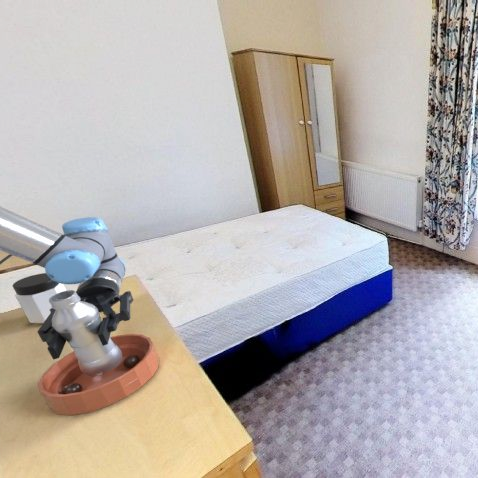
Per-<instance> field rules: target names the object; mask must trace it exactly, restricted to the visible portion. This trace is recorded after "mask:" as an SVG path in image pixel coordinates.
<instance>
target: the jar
mask: <svg viewBox="0 0 478 478" xmlns="http://www.w3.org/2000/svg"><path fill="white" fill-rule="evenodd" d="M12 288H13V290H14V291H15V293H16V294H15V295H14V297H15V299H16V300H17V302H18V304H19V306H20V307H21V309H22V311H23V312H24V314H25V316H26V318H27V320H28V321H29V323H31V324H43V323H44V322H45V320H46V319H47V317H48V316H49V315H50V313H51V312H50V309H51V308H52V307H51V304H50V302H49V298H50V297H52V296H53V295H55V294H57V293H60V292H63V291H67V289H66V287H65V284H61V283H58V282H55V281H53V280H51V278H49V277H48V275H47V274H46V272H43V273H37V274H33V275H29V276H25V277H23V278H21V279H18V280H16V281H15V282H14V283H13V284H12Z"/></svg>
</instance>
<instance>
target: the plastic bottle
mask: <svg viewBox="0 0 478 478" xmlns="http://www.w3.org/2000/svg"><path fill="white" fill-rule="evenodd" d="M80 299H81V298H80V297H79V296H78V295H77V293H76V291H75V290H74V289H73V290H72V289H69V290H66V291H63V292H60V293H57V294H55V295H53V296H52V297H50V298H49V302H50V304H51V307H52V308H53V309H55V310H56V311H55V313H54V315H53V318H52V326H53V327H54V329H55V330H56V331H57V332H58V333H59V334H60V335H61V336H62V337H63V338H65V339H66V343H68V345H69V346H70V348H71V349H72V350H73V351H74V353H75V355H76V357H77V359H78V364H79V367H80V370H81V371H82V372H83V373H85V374H86V375H88V376H100V375H103V374H106V373H108V372H110V371H112V370H113V369H115V368H116V367H117V366H118V365H119V364H120V362H121V360H122V352H121V350H120V349H119V347H118V346H117V345H116V344H115V343H113V341H112V340H111V339H110V337H111V336H110V337H109V341H108V344H107V345H104V346H103V345H102V343H101V341H100V339H99V337H98V333H99V329H100V326H101V323H102V318H101V315H100V312H99V311H98V309H97V307H95V306H94V305H93V304H90V303H87V302H83V301H80Z"/></svg>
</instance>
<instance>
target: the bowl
mask: <svg viewBox="0 0 478 478" xmlns="http://www.w3.org/2000/svg"><path fill="white" fill-rule="evenodd" d="M110 339H111V340H112V341H113V343H115V344H116V345H117V346H118V347H119V349H120V350H121V352H122V360H121V362H120V364H119V365H118V366H117V367H116V368H115V369H113V370H112V371H110V372H108V373H106V374H103V375H100V376H88V375H86V374H85V373H83V372H82V371H81V370H80V367H79V364H78V359H77V357H76V355H75V353H74V350H73V351H71V352H70V353H68V354H66V355H65V356H63V357H61V358H59V360H57V361H55V362H54V363H53V364H52V365H51V366H50V367H48V369H46V370H45V372H44V373H43V374H42V375H41V376H40V379H39V381H38V383H37V386H38V391H39V393H40V395H41V396H42V398H43V400H44V401H45V403H46V404H47V406H48V408H49V410H51V411H53V413H56V414H57V415H64V416H76V415H82V414H88V413H92V412H95V411H98V410H100V409H103V408H106V407H109V406H111V405H113V404H115V403H117V402H119V401H121V400H123V399H125V398H127V397H128V396H130V395H132V394H133V393H135V392H136V391H137V390H139V389H141V388H142V387H143V386H145V384H146V383H147V382H148V381H150V379H152V377H154V375H155V373H156V371H158V368H159V365H160V357H159V355H158V352H157V350H156V346H155V345H154V342H153V341H152V339H151V337H149V336H147V335H144V334H141V333H127V334H126V333H125V334H119V335H113V336H110ZM130 355H137V356H139V358H140V362H139V363H138V364H137V365H136V366H135V367H133V368H126V367H124V365H123V361H124V359H125V358H126V357H128V356H130ZM72 383H78V384H81V385H82V388H83V389H82V392H77V393H71V394H62V390H63V389H64V388H65V387H66V386H67V385H69V384H72Z"/></svg>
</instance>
